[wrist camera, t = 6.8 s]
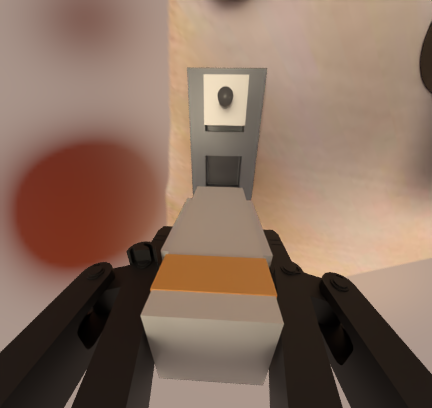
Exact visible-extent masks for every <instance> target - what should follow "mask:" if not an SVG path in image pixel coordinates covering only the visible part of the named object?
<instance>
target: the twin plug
mask: <svg viewBox="0 0 432 408" xmlns="http://www.w3.org/2000/svg"><path fill="white" fill-rule="evenodd" d="M248 85H249V75H236V74H204V125H215V126H245V120H246V108H247V97H248Z"/></svg>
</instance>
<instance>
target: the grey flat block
mask: <svg viewBox="0 0 432 408" xmlns="http://www.w3.org/2000/svg"><path fill="white" fill-rule="evenodd" d="M204 74H236V75H249V85H248V97H247V108H246V120H245V126H215V125H204ZM266 74H267V68H187V76H188V97H189V119H190V141H191V162H192V184H193V195H194V193H195V191H196V189H197V186H204V187H235V188H243V191H244V194H245V198H246V200H251V197H252V189H253V181H254V173H255V164H256V156H257V148H258V140H259V132H260V123H261V115H262V107H263V99H264V91H265V83H266Z"/></svg>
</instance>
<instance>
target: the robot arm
mask: <svg viewBox="0 0 432 408" xmlns="http://www.w3.org/2000/svg"><path fill="white" fill-rule="evenodd" d="M421 73H422V77H423V80H424V83H425V85H426V87H427V88H428V89H429V90H430V92H432V24H431V27H430V29H429V31H428V34H427V36H426V39H425V42H424V46H423V51H422V56H421ZM191 200H192V198H187V200H186V202H185V204H184V206H183V208H182V210H181V212H180V214H179V216H178V218H177V219H176V221H175V223H174V225H173V227H170V226H164V227H163V228H161V229H160V230H158V232H157V234H156V235H155V237H154V238H153V240H152V242H140V243H137V244H134V245H133V246H131V247H130V248H129V249H128V250H127V255H128V258H129V262H130V265H128V266H123V267H118V268H112V265H111V264H110V263H107V262H101V263H98V264H94V265H92V266H90V267H88V268H87V269H85V270H84V271H83V272H82V273H81V274H80V275H79V276H78V277H77V278H76V279H75V280H74V281H73V282H72V283H71V284H70V285H69V286H68V287H67V288H66V289H65V290H64V291H63V292H61V293H60V295H59V296H57V298H55V299H54V300H53V301H52V302H51V303H50V304H49V305H48V306H47V307H46V308H45V309H44V310H43V311H42V312H41V313H40V314H39V315H38V316H37V317H36V318H35V319H34V320H33V321H32V322H31V323H30V324H29V325H28V326H27V327H26V328H25V329H24V330H23V331H22V332H21V333H20V334H19V335H18V336H17V337H16V338H15V339H14V340H13V341H12V342H11V343H9V344H8V345H7V346H6V347H5V348H4V350H2V351H1V353H0V408H64V407H65V405H66V403H67V402H68V400H69V398H70V397H71V395H72V393H73V391H74V390H75V388H76V386H77V385H78V383H79V381H80V380H81V378H82V376H83V375H84V373H85V371H86V370H87V371H86V373H85V376H84V378H83V380H82V383H81V385H80V388H79V390H78V392H77V395H76V398H75V400H74V402H73V405H72V407H71V408H148V407H149V400H150V393H151V385H152V378H153V371H154V364H155V363H154V359H153V356H152V352H151V349H150V346H149V342H148V339H147V336H146V332H145V329H144V326H143V322H142V319H141V316H140V315H141V313H142V311H143V309H144V306H145V304H146V302H147V300H148V297H149V295H150V293H151V291H150V288H151V285H152V283H153V281H154V279H155V277H156V275H157V272H158V270H159V268H160V266H161V264H162V261H163V259H164V257H165V255H166V254H168V252H169V250H170V247H171V245H172V243H173V241H174V238H175V236H176V234H177V232H178V229H179V227H180V225H181V223H182V220H183V218H184V216H185V213H186V211H187V209H188V207H189V204H190V202H191ZM246 201H247V204H248V207H249V211H250V214H251V217H252V220H253V224H254V227H255V230H256V234H257V237H258V240H259V243H260V247H261V250H262V253H263V257H264V258H266V261H267V264H268V267H269V270H270V273H271V277H272V280H273V283H274V286H275V289H276V292H277V303H278V306H279V309H280V312H281V316H282V319H283V322H284V325H283V328H282V331H281V334H280V337H279V340H278V343H277V346H276V349H275V352H274V355H273V358H272V361H271V364H270V367H269V388H270V408H343V407H342V404H341V400H340V397H339V393H338V390H337V387H336V383H335V380H334V376H333V373H332V369H333V371H334V373H335V375H336V377H337V379H338V381H339V383H340V386H341V388H342V390H343V392H344V394H345V396H346V398H347V400H348V402H349V404H350V406H351V408H432V374H431V373H430V372H429V371H428V370H427V368H426V367H425V366H424V365H423V364H422V363H421V361H420V360H419V359H418V358H417V357H416V356H415V354H414V353H413V352H412V351H411V350H410V349H409V347H408V346H407V345H406V344H405V343H404V342H403V341H402V339H401V338H400V337H399V336H398V335H397V334H396V332H395V331H394V330H393V329H392V328H391V327H390V325H389V324H388V323H387V322H386V321H385V320H384V319H383V318H382V316H381V315H380V314H379V313H378V312H377V311H376V309H374V307H373V306H372V305H371V304H370V302H369V301H368V300H367V299H366V298H365V297H364V295H363V294H362V293H361V292H360V291H359V290H358V289H357V287H356V286H355V285H354V284H353V283H352V282H351V281H350V280H349V279H347V278H345V277H344V276H342V275H339V274H337V273H331V272H329V273H325V274H324V275H323V276H322V278H320V277H316V276H313V275H309V274H307V273H304V272H303V271H302V269H301V268H300V267H299V266H298V265H297V264H295V263H294V262H292V261H291V259H290V257H289V255H288V253H287V251H286V249H285V247H284V245H283V243H282V241H281V239H280V237H279V235H278V234H277V233H276V232H275V231H273V230H263V229H262V226H261V223H260V221H259V218H258V215H257V213H256V210H255V207H254V205H253V202H252V200H246ZM330 365H331V366H330ZM331 367H332V369H331Z"/></svg>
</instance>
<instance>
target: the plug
mask: <svg viewBox="0 0 432 408" xmlns="http://www.w3.org/2000/svg"><path fill="white" fill-rule="evenodd" d="M150 291H151V293H150V295H149V297H148V300H147V302H146V304H145V306H144V309H143V311H142V313H141V315H140V316H141V319H142V322H143V326H144V329H145V332H146V336H147V339H148V342H149V346H150V349H151V352H152V356H153V359H154V363H155V366H156V369H157V373H158V376H159V378H164V379H180V380H195V381H208V382H222V383H236V384H250V385H263V384H264V381H265V378H266V375H267V372H268V369H269V367H270V364H271V361H272V358H273V355H274V352H275V349H276V346H277V343H278V340H279V337H280V334H281V331H282V328H283V325H284V322H283V319H282V316H281V312H280V309H279V306H278V303H277V292H276V289H275V286H274V283H273V280H272V277H271V273H270V270H269V267H268V264H267V261H266V258H264V257H263V253H262V250H261V247H260V243H259V240H258V237H257V234H256V230H255V227H254V224H253V220H252V217H251V214H250V211H249V207H248V204H247V201H246V198H245V194H244V191H243V188H235V187H204V186H197V189H196V191H195V193H194V195H193V198H192V200H191V202H190V204H189V207H188V209H187V211H186V213H185V216H184V218H183V220H182V223H181V225H180V227H179V229H178V232H177V234H176V236H175V238H174V241H173V243H172V245H171V247H170V250H169V252H168V254H166V255H165V257H164V259H163V261H162V264H161V266H160V268H159V270H158V272H157V275H156V277H155V279H154V281H153V283H152V285H151V288H150Z"/></svg>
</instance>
